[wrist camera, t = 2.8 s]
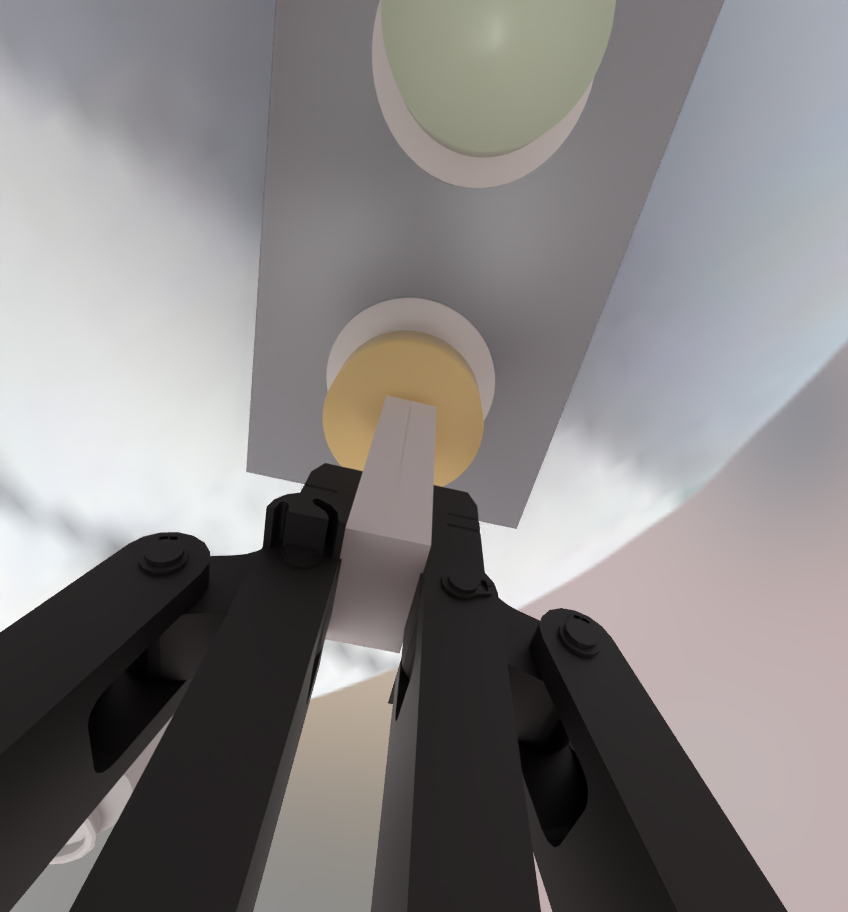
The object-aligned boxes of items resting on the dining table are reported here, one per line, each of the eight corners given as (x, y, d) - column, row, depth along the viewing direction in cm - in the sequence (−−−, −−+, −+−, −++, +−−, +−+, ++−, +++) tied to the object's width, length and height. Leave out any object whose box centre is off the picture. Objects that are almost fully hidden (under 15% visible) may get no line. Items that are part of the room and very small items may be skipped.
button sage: (413, -130, 11) (407, -195, 9) (624, -66, 11) (658, -116, 9) (374, 131, 13) (363, 120, 11) (550, 178, 14) (566, 175, 12)
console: (393, -1013, 9) (369, -1570, 6) (968, -758, 10) (1179, -1146, 7) (268, 441, 23) (244, 474, 20) (508, 492, 24) (516, 531, 21)
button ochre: (346, 314, 15) (334, 328, 14) (497, 350, 16) (504, 369, 14) (326, 449, 18) (313, 477, 16) (458, 478, 18) (460, 508, 16)
